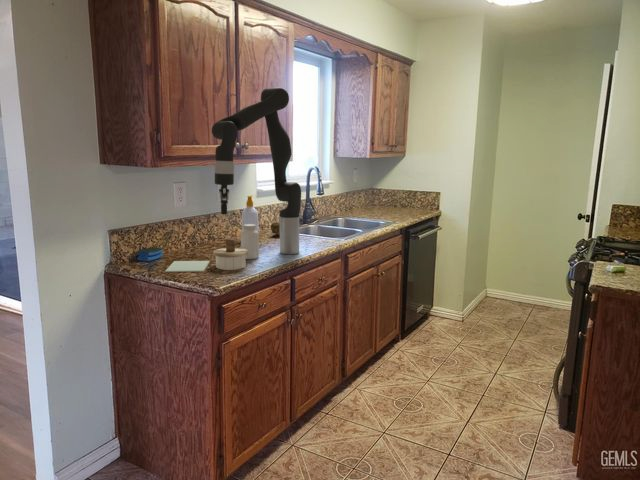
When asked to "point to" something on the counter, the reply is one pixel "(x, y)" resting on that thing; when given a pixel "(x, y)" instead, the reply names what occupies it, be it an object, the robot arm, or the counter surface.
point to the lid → (230, 250)
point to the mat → (187, 266)
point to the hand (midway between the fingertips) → (223, 213)
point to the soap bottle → (250, 214)
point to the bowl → (230, 262)
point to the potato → (275, 228)
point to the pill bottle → (250, 241)
